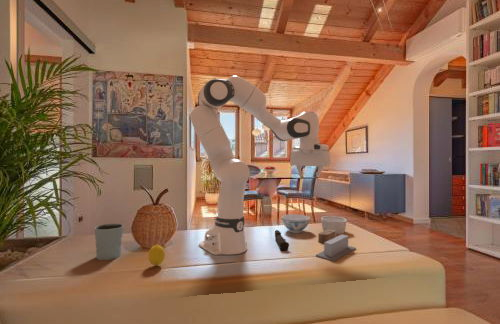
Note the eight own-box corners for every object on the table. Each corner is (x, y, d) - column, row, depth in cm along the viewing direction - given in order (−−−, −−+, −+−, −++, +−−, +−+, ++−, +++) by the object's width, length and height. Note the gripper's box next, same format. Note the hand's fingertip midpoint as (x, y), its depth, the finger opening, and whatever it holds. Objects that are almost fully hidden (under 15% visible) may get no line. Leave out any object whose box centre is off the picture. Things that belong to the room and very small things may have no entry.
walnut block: (318, 233, 129) (328, 229, 137) (318, 241, 129) (328, 237, 137) (326, 235, 127) (336, 230, 134) (326, 243, 127) (335, 239, 134)
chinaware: (290, 236, 138) (290, 221, 138) (276, 229, 152) (276, 215, 152) (315, 233, 143) (315, 218, 143) (300, 226, 157) (300, 213, 157)
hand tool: (289, 251, 117) (289, 240, 117) (279, 251, 116) (279, 240, 116) (281, 238, 136) (281, 229, 136) (273, 238, 135) (273, 229, 135)
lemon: (164, 268, 98) (164, 245, 98) (147, 269, 96) (147, 247, 96) (164, 262, 103) (164, 241, 103) (149, 264, 101) (148, 242, 101)
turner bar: (324, 254, 110) (324, 242, 110) (341, 245, 122) (341, 234, 122) (331, 256, 108) (331, 244, 108) (348, 247, 120) (348, 235, 120)
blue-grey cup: (88, 258, 107) (88, 227, 106) (110, 250, 116) (110, 222, 116) (107, 262, 103) (107, 230, 103) (128, 253, 112) (128, 224, 112)
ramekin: (351, 234, 143) (351, 221, 142) (328, 235, 140) (329, 222, 139) (337, 227, 155) (338, 215, 155) (316, 229, 152) (316, 216, 152)
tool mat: (315, 256, 110) (315, 254, 110) (338, 244, 125) (338, 243, 125) (334, 261, 105) (334, 260, 105) (355, 249, 119) (355, 247, 119)
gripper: (287, 146, 135) (287, 175, 135) (325, 145, 121) (325, 177, 121) (294, 147, 139) (294, 174, 140) (332, 146, 125) (332, 176, 126)
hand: (309, 175), depth 130 cm, fingers open, 8 cm apart
